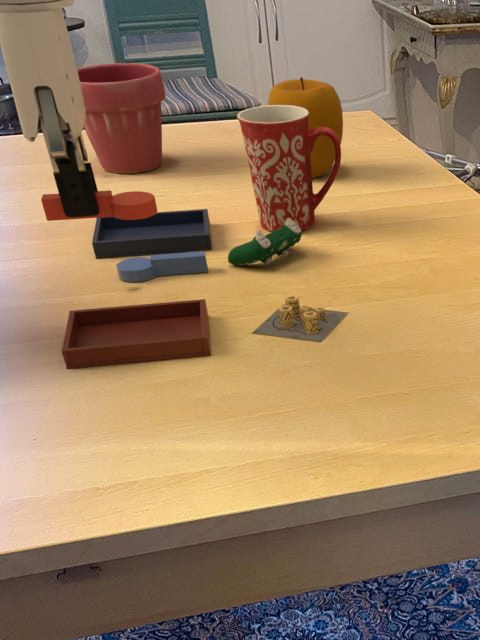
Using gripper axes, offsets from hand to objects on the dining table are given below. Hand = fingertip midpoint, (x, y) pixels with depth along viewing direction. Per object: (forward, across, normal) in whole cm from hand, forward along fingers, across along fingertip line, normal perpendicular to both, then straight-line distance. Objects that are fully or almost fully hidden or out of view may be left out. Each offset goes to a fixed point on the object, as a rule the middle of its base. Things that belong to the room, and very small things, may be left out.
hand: (83, 210), depth 92 cm
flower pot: (+13, -64, 0) cm, 65 cm away
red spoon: (+1, 0, +2) cm, 2 cm away
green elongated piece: (+13, -19, +18) cm, 29 cm away
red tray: (+13, +2, +3) cm, 13 cm away
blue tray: (+13, -29, +4) cm, 32 cm away
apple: (+13, -54, +27) cm, 61 cm away
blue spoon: (+13, -17, +5) cm, 22 cm away
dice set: (+13, +1, +20) cm, 24 cm away
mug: (+13, -31, +23) cm, 40 cm away
